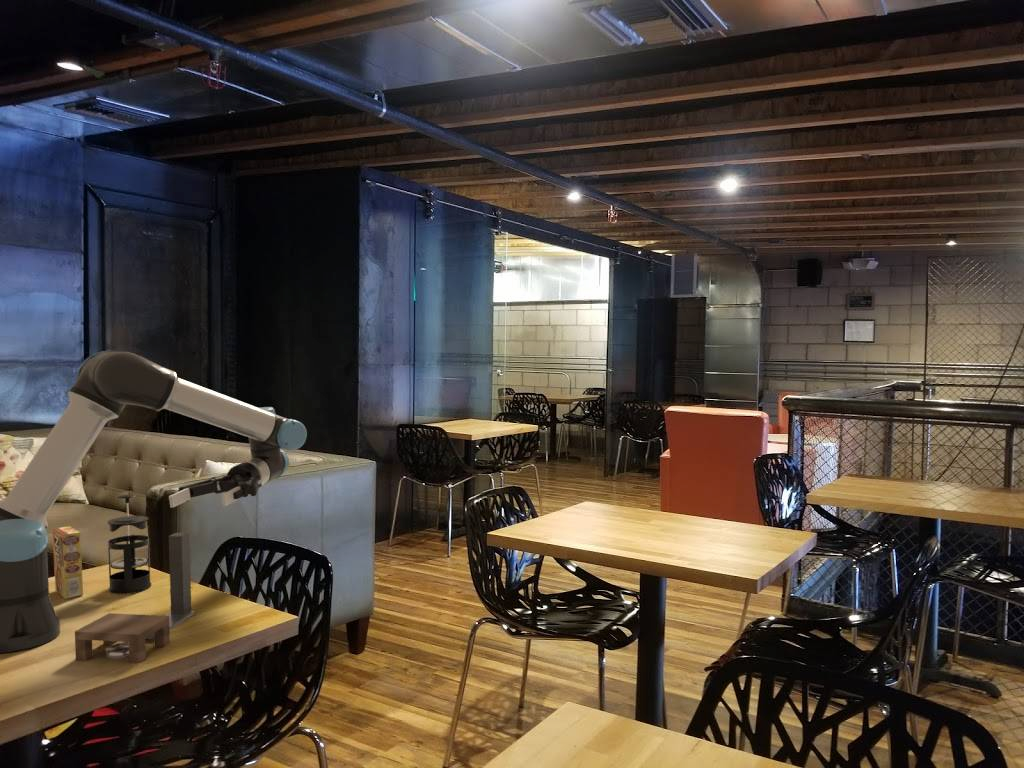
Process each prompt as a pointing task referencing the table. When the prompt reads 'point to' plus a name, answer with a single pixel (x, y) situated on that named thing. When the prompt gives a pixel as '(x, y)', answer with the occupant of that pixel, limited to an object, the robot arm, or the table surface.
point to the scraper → (179, 580)
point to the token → (118, 650)
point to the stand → (123, 634)
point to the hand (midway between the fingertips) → (196, 501)
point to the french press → (129, 555)
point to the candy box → (67, 562)
